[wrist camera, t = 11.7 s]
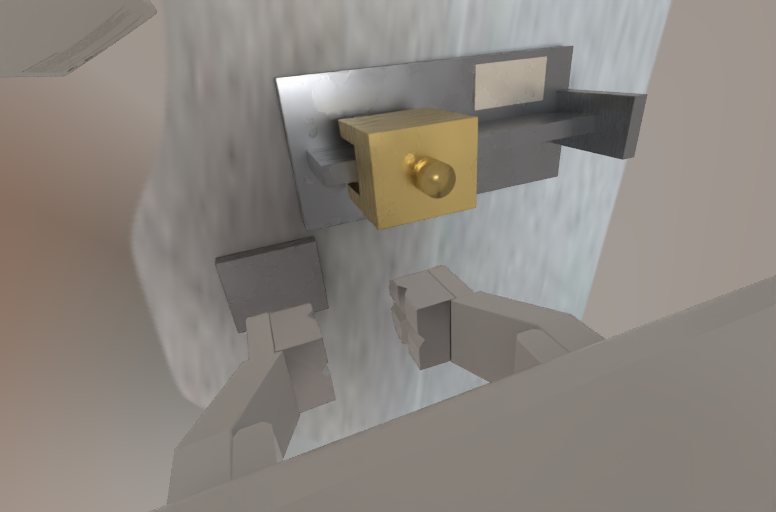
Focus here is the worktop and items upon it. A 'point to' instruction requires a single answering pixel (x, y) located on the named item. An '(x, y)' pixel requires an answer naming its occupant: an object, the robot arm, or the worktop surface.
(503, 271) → the worktop surface
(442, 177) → the gold knobbed block
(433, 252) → the worktop surface
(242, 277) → the thin grey square plate
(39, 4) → the skincare box
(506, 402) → the robot arm
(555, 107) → the rail
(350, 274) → the worktop surface
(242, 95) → the worktop surface
